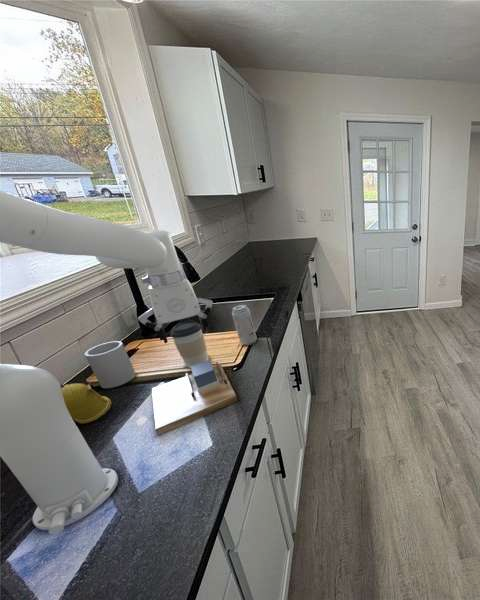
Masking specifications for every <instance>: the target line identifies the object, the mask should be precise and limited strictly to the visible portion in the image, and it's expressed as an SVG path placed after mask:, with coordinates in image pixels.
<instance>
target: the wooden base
mask: <svg viewBox="0 0 480 600" xmlns="http://www.w3.org/2000/svg"><path fill="white" fill-rule="evenodd" d="M212 367H213V369H214V372H215V374H216V377H217V379H218V381H219V384H220V385H218V386H215V387H213V388H210V389H208V390H205V391H203V392H200V393H199V392H198V390H197V387H196V383H195V380H194V377H193V374H192V373H191V374H189V372H186V373H184V374H185V376H183V377H179V378H177V379H174V380H172V381H169V382H166V383H163V384H160V385H157V386H155V387H152V388H151V397H152V398H151V399H152V409H153V418H154V419H153V420H154V429H155V431H156V435H157V436H160V435H162V434H165V433H167V432H169V431H171V430H174V429H176V428H178V427H181V426H183V425H185V424H188V423H189V422H192V421H195V420H197V419H199V418H201V417H204V416H207V415H208V414H211V413H213V412H215V411H218V410H220V409H222V408H225V407H227V406H230V405H231V404H232V405H233V404H234V403H236V402H238V397H237V394H236V393H235V391H234V389H233V387H232V385H231V383H230V380H229V378H228V376H227V374H226V373H225V370H224V368H223V366H222V364H221V363H218V361H217V362H215V365H212Z"/></svg>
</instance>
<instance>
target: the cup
mask: <svg viewBox="0 0 480 600" xmlns="http://www.w3.org/2000/svg"><path fill="white" fill-rule="evenodd" d="M84 356H85V358H86V361H87V363H88V364H89V366H90V368H91V370H92V372H93V374H94V376H95V378H96V380H97V382H98V384H99V386H100V388H101V389H112V388H115V387H119V386H122V385H125V384H126V383H128V382H130V381H131V380H133V379H134V378H135V377H136V376H137V372H136V370H135V367H134V366H133V364H132V361H131V359H130V357H129V355H128V353H127V350H126V348H125V345H124V344H123V342H122V341H119V340H113V341H109V342H104V343H100V344H98V345H95V346H93V347H91V348H89V349H88V350H86V351H85V352H84ZM134 371H135V373H134ZM133 373H134V374H133Z"/></svg>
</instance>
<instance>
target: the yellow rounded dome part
mask: <svg viewBox="0 0 480 600" xmlns="http://www.w3.org/2000/svg"><path fill="white" fill-rule="evenodd" d="M60 387H61V390H62V395H63V399H64V402H65V405H66V407H67V410H68V412H69V414H70V416H71V417H72V419H73V420H75V422H77V424H79V425H80V424H81V425H84V424H86V425H87V424H90V423H93V422H95V421H96V420H98V419H100V418H101V417H102V416H103V415H105V414H106V413H107V412H108V411H110V410H111V407H112V399H111V398H110V397H107V396H105V395H100V394H99V393H98V392H97V391H95V390H94V389H93V388H92V386H91V384H85V383H79V382H78V383H77V382H76V383H70V384H69V383H68V384H64V383H61V384H60Z"/></svg>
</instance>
